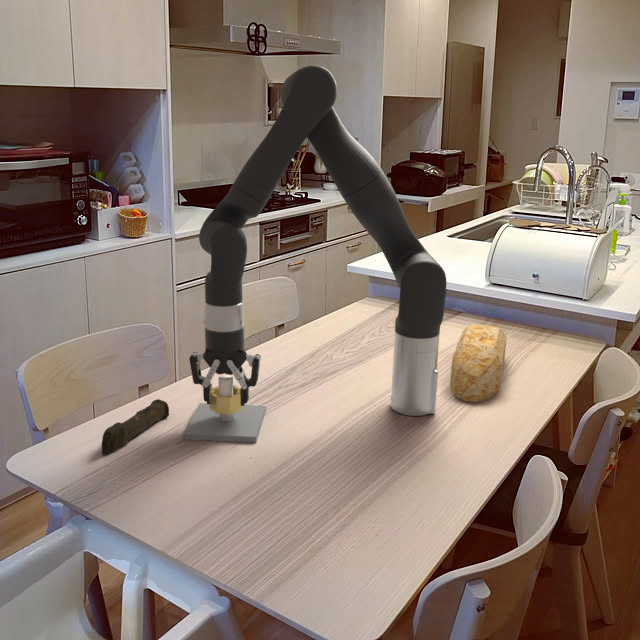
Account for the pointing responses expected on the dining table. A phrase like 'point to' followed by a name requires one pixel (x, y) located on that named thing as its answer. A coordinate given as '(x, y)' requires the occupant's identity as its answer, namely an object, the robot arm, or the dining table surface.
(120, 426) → the hand tool
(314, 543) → the dining table surface
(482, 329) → the bread
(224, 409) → the ring
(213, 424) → the post base
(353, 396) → the dining table surface
